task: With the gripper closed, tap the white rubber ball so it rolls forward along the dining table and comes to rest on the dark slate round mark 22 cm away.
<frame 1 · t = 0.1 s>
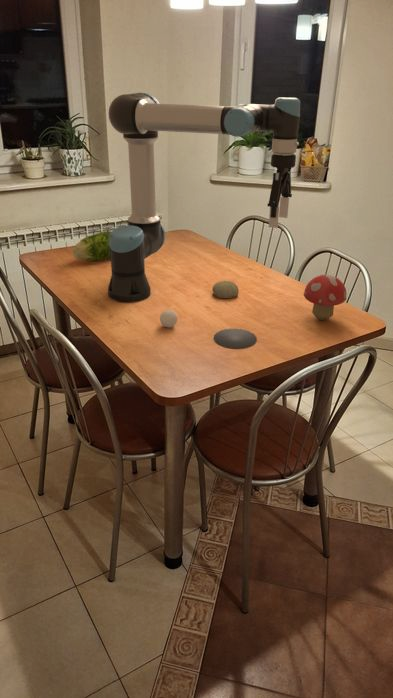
hand: (278, 222, 172), 28 cm above the table, tool pointing down, fingers open, 13 cm apart
decorative mushroom: (321, 319, 173), on the table
sea urchin shell: (225, 295, 191), on the table
ball: (168, 318, 166), on the table
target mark: (235, 338, 160), on the table
lettuce: (97, 261, 223), on the table
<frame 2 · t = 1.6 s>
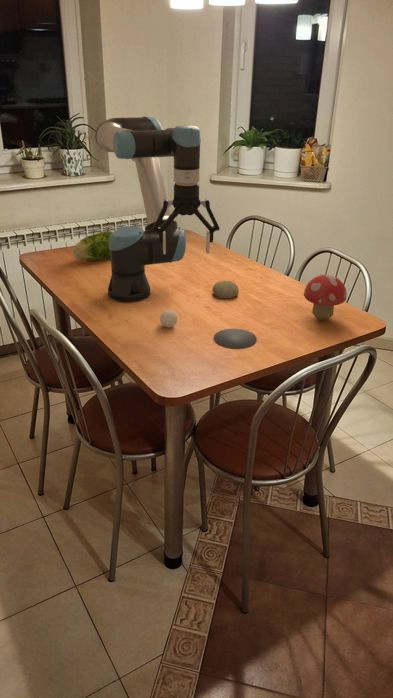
hand: (186, 252, 165), 21 cm above the table, tool pointing down, fingers open, 13 cm apart
nothing on the table moved.
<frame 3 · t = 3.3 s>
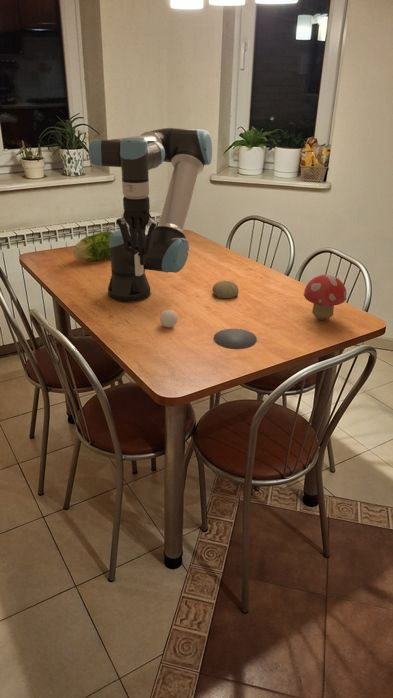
hand: (139, 274, 162), 16 cm above the table, tool pointing down, fingers closed
nothing on the table moved.
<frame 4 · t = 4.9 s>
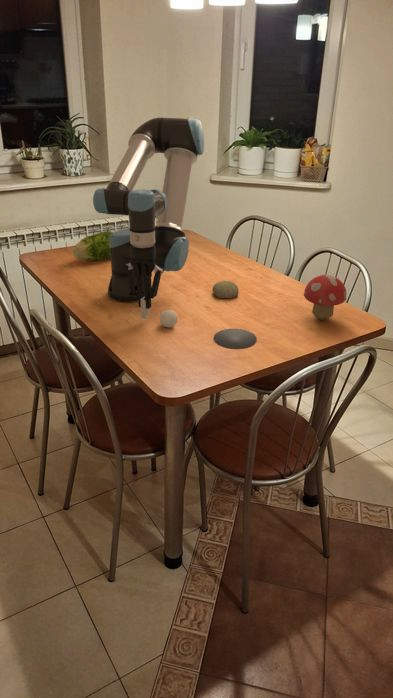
hand: (145, 317, 168), 2 cm above the table, tool pointing down, fingers closed
nothing on the table moved.
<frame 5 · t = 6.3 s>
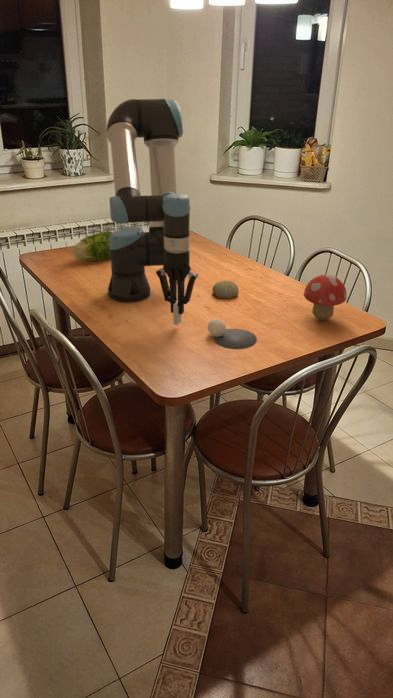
hand: (177, 322, 165), 2 cm above the table, tool pointing down, fingers closed
ball: (216, 327, 160), on the table
everything else where it was.
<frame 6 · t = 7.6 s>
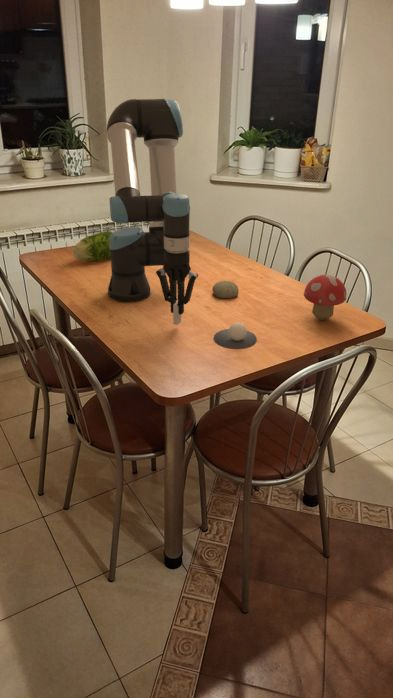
hand: (177, 322, 165), 2 cm above the table, tool pointing down, fingers closed
ball: (237, 331, 158), on the table
everything else where it was.
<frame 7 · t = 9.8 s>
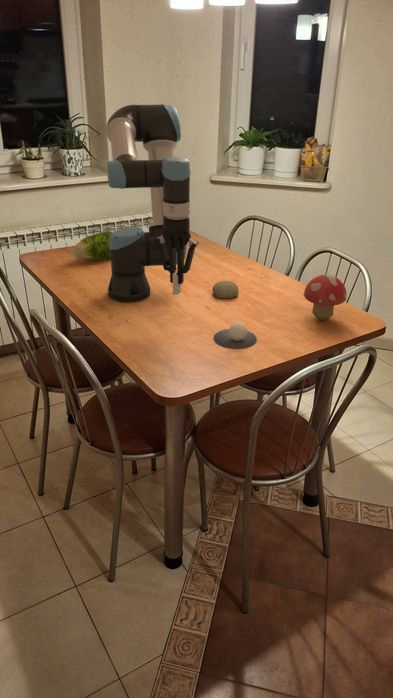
hand: (176, 292, 161), 12 cm above the table, tool pointing down, fingers closed
nothing on the table moved.
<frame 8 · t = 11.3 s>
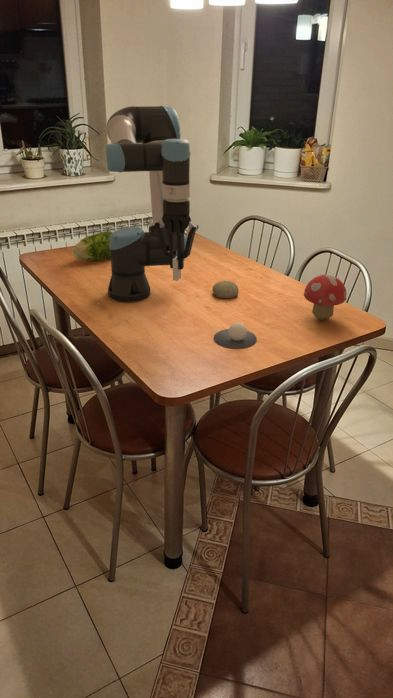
hand: (177, 278, 158), 16 cm above the table, tool pointing down, fingers closed
nothing on the table moved.
at the end: ball 1.0 cm from the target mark (horizontally); ball at rest at the end (0.0 cm/s); ball moved 22.8 cm from its start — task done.
